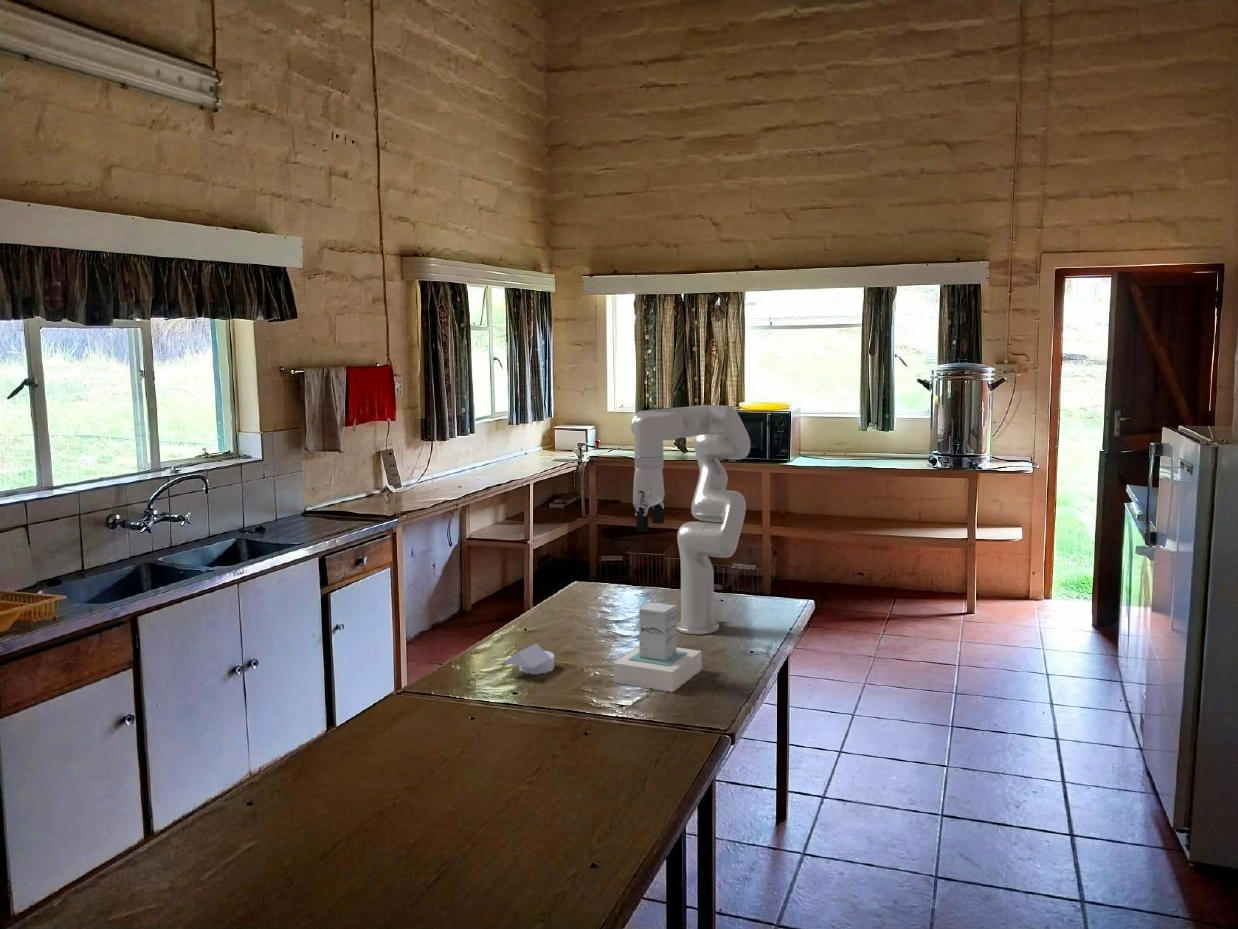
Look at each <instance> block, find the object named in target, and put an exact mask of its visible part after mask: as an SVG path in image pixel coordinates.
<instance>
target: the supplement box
mask: <svg viewBox="0 0 1238 929" xmlns="http://www.w3.org/2000/svg"><path fill="white" fill-rule="evenodd" d="M677 608H678V605H676V604H675V605H674V604H668V603H667V604H666V603H660V602H654V601H653V602H652V601H651V602H648V603H647V604H645V605H643V606H642V607H641V606H640V608H639V609H638V610H639V613H638V616H639V620H638V621H639V622H638V623H639V624H638V625H639V628H638V630H639V631H638V632H639V635H638V636H639V639H638V641H639V643H638V644H639V646H638V647H639V657H645V658H652V659H658V660H662V661H666V660H667V659H669V658H670V657H672V656H673V655H674V654H676V647H677V636H678V635H677V633H678V632H677V631H678V630H677V623H678V619H677V614H678V613H677V611H678V609H677Z"/></svg>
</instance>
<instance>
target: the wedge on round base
mask: <svg viewBox="0 0 1238 929" xmlns="http://www.w3.org/2000/svg"><path fill="white" fill-rule="evenodd" d="M503 664H508V665H514V666H519V668H518V669H519V671H520V672H521V671H523V672H522V673H524V672H525V673H524V674H528V673H530V674H529V675H541V674H540V673H543V674H547V673H549V671H550V672H552V671H554V670H553V669H555V653H554V652H552V651H548V650H544V649H543V648H542V647H541V646H540V645H539V644H538V643H534V644H532V645H530V646H527V647H526V648H524V649H521V650H520V651H517V652H516V653H514V654H513V655H512V656H510V657H509V658H507V659H506V660H505V661H503ZM546 672H547V673H546Z"/></svg>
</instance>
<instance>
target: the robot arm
mask: <svg viewBox="0 0 1238 929" xmlns="http://www.w3.org/2000/svg"><path fill="white" fill-rule="evenodd" d="M745 427H746V426H745V425H744V423H743V421H742V419H741V417H740V415H739V413H738V412H737V410H736V409H735V408H734V407H732V406H730V405H720V404H719V405H716V404H715V405H714V404H713V405H711V404H701V405H700V404H699V405H691V406H683V407H681V406H680V407H671V408H660V409H659V408H658V409H648V410H640V411H637V412H635V414H634V415H633V416H632V419H631V421H630V430H631V433H632V434H633V444H634V445H633V446H634V447H633V448H634V451H633V452H634V453H633V454H634V469H635V470H634V473H633V474H634V475H633V490H632V504H633V507H634V509H633V510H634V512H635V513H634V515H635V519H636V520H635V522H636V524H635V525H636V526H635V528H636V529H635V530H636V531H639V532H648V531H649V515H648V511H649V508H651V522H652V524H659V525H663V524H664V523H665V516H664V515H665V514H664V513H665V512H664V508H665V504H664V502H665V501H666V500H665V496H666V494H665V493H666V491H665V487H664V485H665V484H664V482H665V481H664V473H663V469H664V468H665V467H664V465H665V464H664V441H675V440H677V439H679V438H680V439H681V438H684V439H685V438H693V437H694V439H693V449H694V453H695V457H696V459H697V460H696V461H697V464H698V468H699V474H698V479H697V480H698V481H697V484H696V487H695V491H694V495H693V498H692V501H691V508H690V511H691V515H692V516H693V517H694V518H695V519H697V520H699V521H687V522H685V523H682V525H681V526H679V528H678V530H677V541H676V542H677V545H678V551H679V559H680V621H677V631H678V632H680V633H684V634H688V635H708V634H713V633H716V632H718V631H719V629H720V625H719V623H718V622H716V621H714V618H715V615H716V614H717V610H716V609H715V608H714V607H715V606H714V604H715V603H714V602H715V599H714V595H715V593H714V592H715V589H714V588H715V586H714V585H715V583H714V581H715V580H714V578H715V577H714V576H715V575H714V573H715V571H714V567H713V563H712V562H711V560H710V558H709V557H713V558H725V559H726V558H730V557H733V555H734V554H735V552H736V550H737V547H738V544H739V539H740V537H741V533H742V528H743V524H744V520H745V516H746V510H747V508H746V507H747V506H746V504H747V503H746V499H745V496H744V495H743V494H742V492H739V491H737V490H732V489H731V490H728V489H727V485H728V481H729V478H728V477H729V476H728V473H727V472H726V469H725V468H724V466H723V464H722V463H721V461H720V460H719V459H721V460H724V459H725V460H743V459H745V458H746V457H748V455H749V454H750V451H751V440H750V439H751V438H750V436H749V434H748V431H747V429H746V428H745ZM704 521H705V522H704Z"/></svg>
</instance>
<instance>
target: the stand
mask: <svg viewBox="0 0 1238 929" xmlns="http://www.w3.org/2000/svg"><path fill="white" fill-rule="evenodd" d="M612 664H613V667H612V668H613V670H612V671H613V673H612V674H613V676H612V677H613V678H612V681H613V683H615V684H620V685H626V684H627V686H634V687H639V688H644V689H650V688H652V689H651V690H657V691H661V690H662V692H667V691H669V692H668V693H674V692H675V691H676V690H678V689H679V688H680V687H681V686H683V685H684V684H685V683H687V682H688V681H689V680H691V679H692V678H693V677H694V676H695V674H696V675H697V674H698V673H700V672H701V671H702V650H697V649H691V648H690V649H689V648H683V647H677V646H676V654H674V655H673V656H672V657H670V658H669V659H667V660H666V661H662V660H658V659H652V658H645V657H639V646H638V647H636V648H635V649H633V650H631V651H629V652H628V653H626V654H625V655H624V656H622V657H620V658H619V659H617V660H615V661H614V662H613V663H612ZM692 676H693V677H692ZM686 681H687V682H686ZM682 684H683V685H682ZM677 688H678V689H677ZM673 691H674V692H673Z"/></svg>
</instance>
